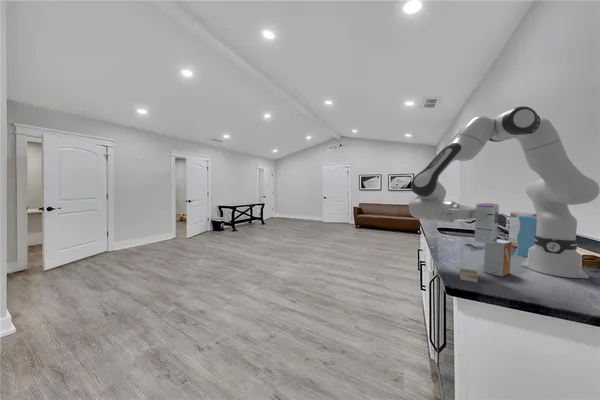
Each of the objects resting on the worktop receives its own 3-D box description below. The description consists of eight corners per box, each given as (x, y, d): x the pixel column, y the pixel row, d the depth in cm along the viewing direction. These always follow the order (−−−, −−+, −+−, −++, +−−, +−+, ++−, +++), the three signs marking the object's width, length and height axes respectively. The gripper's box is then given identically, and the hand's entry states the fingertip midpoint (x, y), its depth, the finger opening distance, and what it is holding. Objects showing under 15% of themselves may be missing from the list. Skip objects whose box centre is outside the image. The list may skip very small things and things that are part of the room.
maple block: (459, 275, 91) (459, 268, 91) (475, 278, 89) (475, 270, 89) (460, 279, 87) (461, 271, 87) (477, 282, 84) (477, 274, 84)
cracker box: (540, 251, 130) (543, 214, 129) (529, 251, 130) (532, 213, 129) (517, 245, 144) (520, 211, 143) (507, 245, 144) (510, 211, 143)
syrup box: (493, 244, 85) (496, 204, 84) (473, 241, 90) (476, 203, 89) (497, 242, 89) (500, 203, 88) (478, 239, 93) (480, 202, 93)
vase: (516, 252, 128) (518, 215, 127) (536, 255, 122) (539, 217, 121) (515, 255, 122) (518, 216, 121) (537, 258, 117) (540, 218, 116)
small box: (502, 277, 90) (505, 243, 89) (482, 272, 95) (484, 240, 94) (510, 273, 94) (512, 241, 94) (490, 268, 100) (492, 238, 99)
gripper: (439, 204, 92) (482, 207, 81) (457, 203, 105) (497, 205, 94) (438, 221, 92) (481, 225, 82) (456, 217, 105) (496, 221, 95)
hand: (490, 215), depth 88 cm, fingers closed on syrup box, 6 cm apart
